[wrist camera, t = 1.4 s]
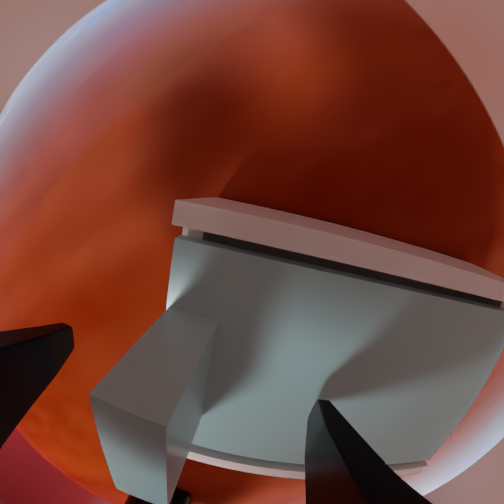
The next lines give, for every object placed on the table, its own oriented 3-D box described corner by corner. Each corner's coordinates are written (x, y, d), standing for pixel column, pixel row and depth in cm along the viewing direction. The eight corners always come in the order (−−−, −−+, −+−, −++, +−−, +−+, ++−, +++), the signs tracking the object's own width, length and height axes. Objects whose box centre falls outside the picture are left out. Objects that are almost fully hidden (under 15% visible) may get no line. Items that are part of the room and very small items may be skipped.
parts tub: (398, 418, 14) (420, 473, 9) (186, 387, 15) (157, 448, 10) (471, 263, 12) (530, 291, 7) (216, 197, 12) (175, 199, 7)
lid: (426, 452, 10) (452, 518, 5) (164, 425, 10) (122, 509, 5) (510, 309, 8) (582, 360, 3) (181, 234, 8) (73, 285, 4)
